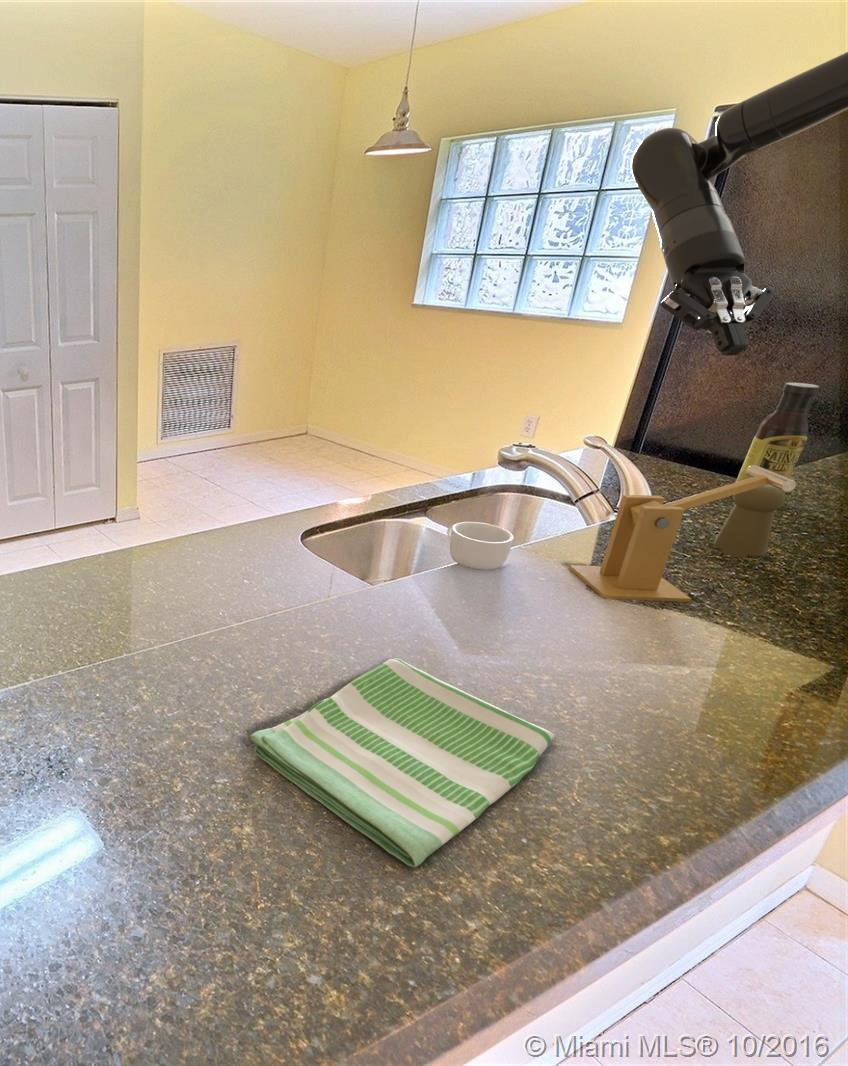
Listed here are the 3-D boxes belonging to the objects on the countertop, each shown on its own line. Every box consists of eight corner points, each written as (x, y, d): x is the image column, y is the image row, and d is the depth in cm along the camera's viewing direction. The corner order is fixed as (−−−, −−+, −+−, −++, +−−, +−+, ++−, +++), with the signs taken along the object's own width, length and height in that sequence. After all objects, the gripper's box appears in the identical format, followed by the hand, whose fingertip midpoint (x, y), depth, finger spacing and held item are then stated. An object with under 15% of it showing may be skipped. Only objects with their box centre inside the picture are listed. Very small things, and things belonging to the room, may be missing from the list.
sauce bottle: (747, 503, 121) (791, 388, 113) (722, 491, 127) (762, 380, 119) (791, 504, 120) (839, 388, 112) (764, 491, 126) (807, 380, 118)
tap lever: (760, 476, 90) (757, 459, 89) (797, 492, 84) (795, 474, 84) (625, 517, 94) (621, 502, 94) (652, 535, 89) (648, 519, 88)
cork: (711, 544, 107) (736, 475, 103) (765, 555, 103) (794, 484, 99) (706, 556, 103) (732, 486, 99) (763, 568, 99) (792, 495, 95)
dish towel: (242, 749, 69) (244, 727, 68) (386, 669, 80) (390, 649, 79) (413, 875, 55) (419, 849, 54) (559, 757, 66) (566, 734, 65)
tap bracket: (645, 576, 98) (674, 490, 93) (688, 608, 90) (722, 515, 85) (567, 573, 100) (591, 489, 95) (601, 604, 92) (629, 513, 87)
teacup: (518, 573, 101) (527, 539, 99) (472, 580, 99) (480, 546, 97) (465, 546, 110) (472, 514, 108) (423, 552, 108) (429, 520, 106)
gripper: (666, 230, 96) (700, 335, 90) (775, 226, 94) (817, 333, 88) (630, 269, 103) (660, 369, 97) (731, 266, 101) (768, 368, 95)
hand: (735, 351), depth 92 cm, fingers closed
